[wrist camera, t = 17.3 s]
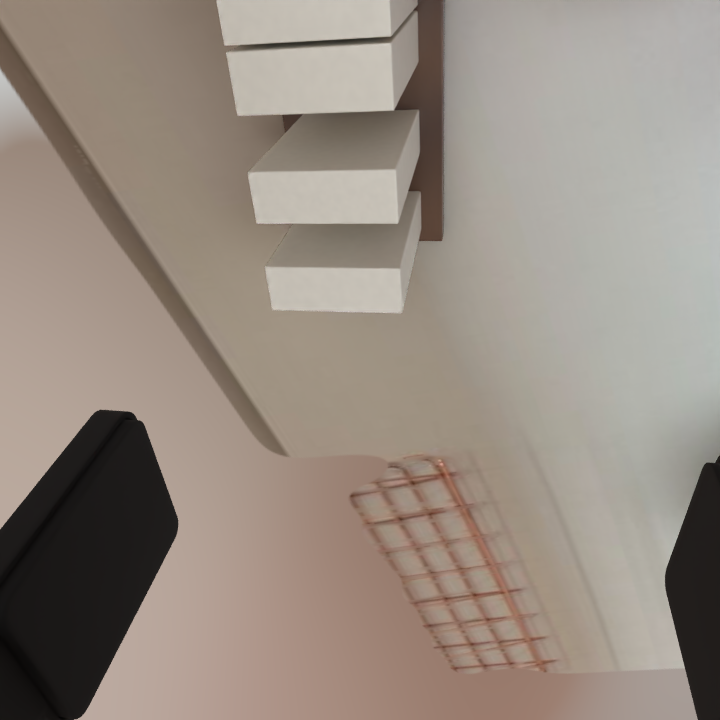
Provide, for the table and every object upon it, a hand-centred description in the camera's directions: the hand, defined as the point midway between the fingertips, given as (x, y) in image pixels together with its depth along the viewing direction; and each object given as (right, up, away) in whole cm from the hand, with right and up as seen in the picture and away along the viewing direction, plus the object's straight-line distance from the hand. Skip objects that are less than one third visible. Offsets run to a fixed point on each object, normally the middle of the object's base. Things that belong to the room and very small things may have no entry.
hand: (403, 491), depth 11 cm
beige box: (-1, +15, +24) cm, 28 cm away
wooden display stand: (-1, +17, +24) cm, 29 cm away
